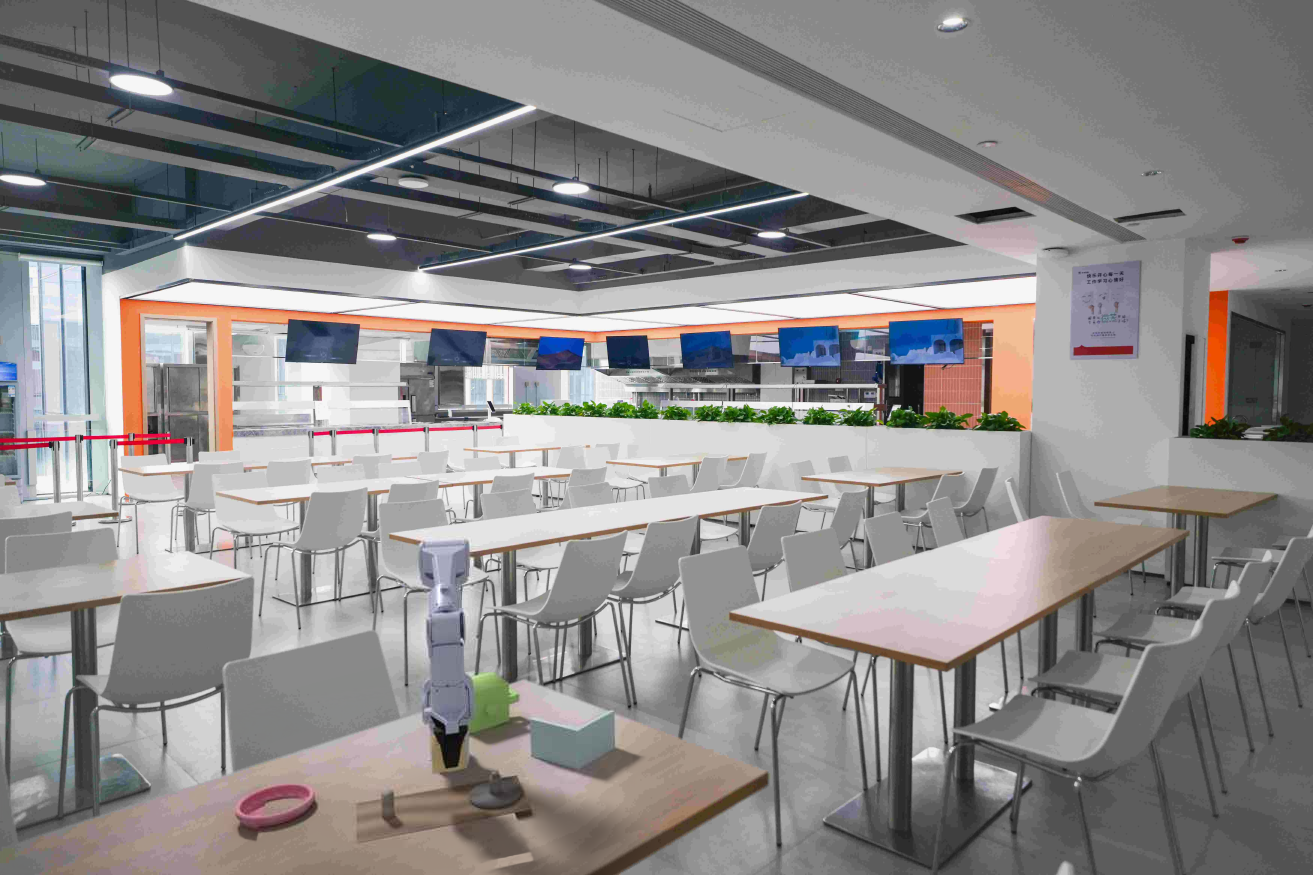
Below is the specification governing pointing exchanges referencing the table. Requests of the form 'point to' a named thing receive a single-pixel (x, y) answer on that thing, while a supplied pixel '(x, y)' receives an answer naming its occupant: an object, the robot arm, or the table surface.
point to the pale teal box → (572, 740)
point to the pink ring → (254, 803)
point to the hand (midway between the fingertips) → (449, 759)
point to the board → (440, 807)
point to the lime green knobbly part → (491, 701)
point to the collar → (438, 759)
